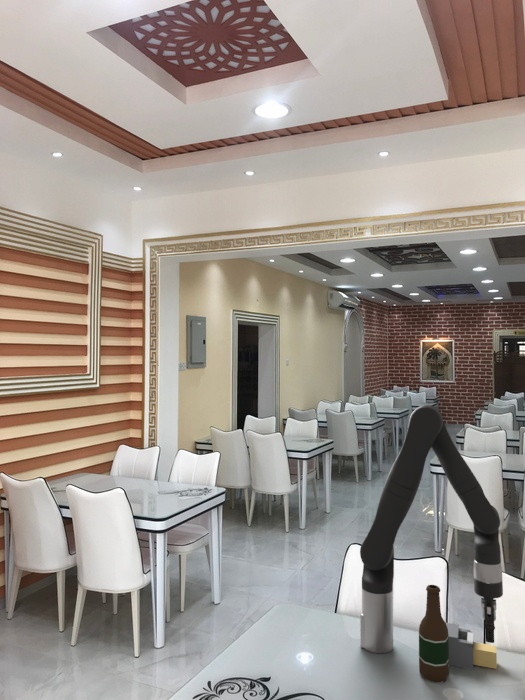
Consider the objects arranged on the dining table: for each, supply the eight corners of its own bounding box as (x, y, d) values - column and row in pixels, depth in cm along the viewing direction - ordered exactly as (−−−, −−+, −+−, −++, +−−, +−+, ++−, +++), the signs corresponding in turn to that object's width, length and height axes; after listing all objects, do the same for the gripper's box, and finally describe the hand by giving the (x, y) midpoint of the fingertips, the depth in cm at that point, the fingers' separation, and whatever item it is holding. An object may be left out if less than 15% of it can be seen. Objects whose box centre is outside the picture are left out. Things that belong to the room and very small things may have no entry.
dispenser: (428, 661, 156) (428, 632, 157) (430, 646, 164) (430, 620, 164) (473, 669, 152) (473, 640, 152) (473, 654, 160) (473, 627, 160)
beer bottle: (450, 685, 145) (449, 593, 145) (420, 681, 146) (419, 591, 147) (447, 669, 152) (446, 582, 153) (418, 665, 154) (417, 579, 155)
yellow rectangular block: (462, 662, 155) (462, 646, 155) (462, 655, 159) (462, 639, 159) (496, 668, 152) (496, 652, 152) (496, 661, 156) (496, 645, 156)
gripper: (474, 566, 163) (475, 621, 163) (473, 584, 150) (475, 644, 149) (501, 569, 160) (503, 625, 160) (503, 588, 147) (505, 649, 147)
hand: (489, 634), depth 155 cm, fingers open, 8 cm apart
